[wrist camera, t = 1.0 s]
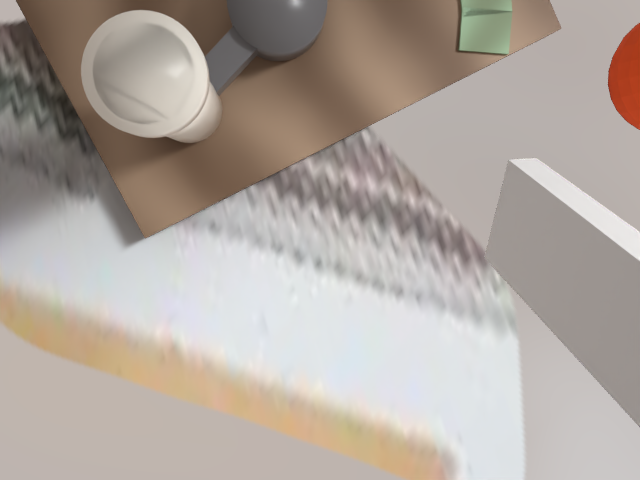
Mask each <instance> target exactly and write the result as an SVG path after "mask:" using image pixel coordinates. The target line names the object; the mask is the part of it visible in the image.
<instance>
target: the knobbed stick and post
mask: <svg viewBox="0 0 640 480" xmlns="http://www.w3.org/2000/svg"><path fill="white" fill-rule="evenodd" d="M227 8H228V12H229V16H230V20H231V23H232V28H231V29H230V30H229V31H228V32H227V33H226V34H225V36H224V37H223V38H222V39H221V40H220V41H219V42H218V43H217V44H216V45H215V46H214V47H213V49H212V50H211V51H210V52H209V53H208V54H207V55H206V56H204V54H203V52H202V50H201V49H200V47H199V45H198V43H197V42H196V40H195V39H194V37H193V36H192V35H191V33H190V32H189V31H188V30H187V29H186V28H185V27H184V26H183V25H181V24H180V23H179V22H177V21H176V20H174V19H173V18H171V17H169V16H167V15H164V14H161V13H158V12H154V11H149V10H134V11H128V12H124V13H121V14H118V15H116V16H114V17H112V18H110V19H108V20H107V21H106V22H104V23H103V24H102V25H101V26H100V27H99V28H98V29H97V30H96V31H95V32H94V33H93V35H92V36H91V38H90V39H89V41H88V43H87V45H86V47H85V50H84V53H83V57H82V63H81V77H82V84H83V88H84V91H85V94H86V96H87V98H88V100H89V102H90V104H91V105H92V107H93V108H94V110H95V111H96V112H97V113H98V114H99V115H100V116H101V117H102V118H103V119H104V120H105V121H106V122H108V123H109V124H110V125H112V126H114V127H115V128H117V129H119V130H122V131H124V132H127V133H130V134H133V135H136V136H140V137H146V138H158V137H165V136H166V137H169V138H171V139H174V140H176V141H179V142H184V143H195V142H199V141H202V140H204V139H206V138H208V137H209V136H210V135H211V134H213V133H214V131H215V130H216V129H217V127H218V125H219V123H220V121H221V117H222V103H221V99H220V97H219V96H220V95H221V93H222V92H223V91H224V90H225V89H226V88H227V87H228V86H229V85H230V84H231V83H232V82H233V81H234V79H235V78H236V77H237V76H238V75H239V74H240V73H241V72H242V71H243V70H244V69H245V68H246V67H247V66H248V64H249V63H250V62H251V61H252V60H253V59H254V58H255V57H256V56H258V57H260V58H263V59H266V60H270V61H286V60H291V59H294V58H296V57H298V56H300V55H302V54H303V53H305V52H306V51H307V50H309V49H310V48H311V47H312V45H313V44H314V43H315V42H316V40H317V38H318V37H319V34H320V32H321V29H322V26H323V22H324V19H325V16H326V11H327V0H227Z"/></svg>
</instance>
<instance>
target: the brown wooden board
mask: <svg viewBox="0 0 640 480" xmlns="http://www.w3.org/2000/svg"><path fill="white" fill-rule="evenodd" d="M16 2H17V3H18V5H19V7H20V9H21V11H22V12H23V14H24V16H25V18H26V20H27V22H28V24H29V25H30V27H31V29H32V31H33V33H34V35H35V37H36V38H37V40H38V42H39V44H40V46H41V48H42V49H43V51H44V53H45V55H46V57H47V59H48V60H49V62H50V64H51V66H52V68H53V70H54V72H55V73H56V75H57V77H58V79H59V81H60V83H61V84H62V86H63V88H64V90H65V92H66V94H67V95H68V97H69V99H70V101H71V103H72V105H73V107H74V108H75V110H76V112H77V114H78V116H79V118H80V119H81V121H82V123H83V125H84V127H85V129H86V130H87V132H88V134H89V136H90V138H91V140H92V142H93V143H94V145H95V147H96V149H97V151H98V153H99V154H100V156H101V158H102V160H103V162H104V164H105V165H106V167H107V169H108V171H109V173H110V175H111V177H112V178H113V180H114V182H115V184H116V186H117V188H118V189H119V191H120V193H121V195H122V197H123V199H124V200H125V202H126V204H127V206H128V208H129V210H130V212H131V213H132V215H133V217H134V219H135V221H136V223H137V224H138V226H139V228H140V230H141V232H142V234H143V236H144V237H145V238H147V237H149V236H151V235H153V234H155V233H157V232H159V231H161V230H163V229H165V228H167V227H169V226H171V225H173V224H175V223H177V222H179V221H181V220H183V219H185V218H187V217H189V216H191V215H193V214H195V213H197V212H199V211H201V210H203V209H205V208H207V207H209V206H211V205H213V204H215V203H217V202H219V201H221V200H223V199H225V198H227V197H229V196H231V195H233V194H235V193H237V192H239V191H241V190H243V189H245V188H247V187H249V186H251V185H253V184H255V183H257V182H259V181H261V180H263V179H265V178H267V177H268V176H270V175H272V174H274V173H276V172H278V171H280V170H282V169H284V168H286V167H288V166H290V165H292V164H294V163H296V162H298V161H300V160H302V159H304V158H306V157H308V156H310V155H312V154H314V153H316V152H318V151H320V150H322V149H324V148H326V147H328V146H330V145H332V144H334V143H336V142H338V141H340V140H342V139H344V138H346V137H348V136H350V135H352V134H354V133H356V132H358V131H360V130H362V129H364V128H366V127H368V126H370V125H372V124H374V123H376V122H378V121H380V120H382V119H384V118H386V117H388V116H389V115H392V114H394V113H395V112H397V111H399V110H401V109H403V108H405V107H407V106H409V105H411V104H413V103H415V102H417V101H419V100H421V99H423V98H425V97H427V96H429V95H431V94H433V93H435V92H437V91H439V90H441V89H443V88H445V87H447V86H449V85H451V84H453V83H455V82H457V81H459V80H461V79H463V78H465V77H467V76H468V75H471V74H473V73H475V72H477V71H479V70H481V69H483V68H485V67H487V66H489V65H491V64H493V63H494V62H497V61H499V60H501V59H502V58H505V57H507V56H509V55H510V54H513V53H515V52H517V51H518V50H520V49H523V48H524V47H526V46H528V45H530V44H532V43H534V42H536V41H538V40H540V39H542V38H544V37H546V36H548V35H550V34H552V33H554V32H556V31H558V30H559V29H561V26H560V24H559V21H558V19H557V17H556V15H555V12H554V10H553V8H552V5H551V3H550V0H327V11H326V16H325V19H324V22H323V26H322V29H321V32H320V34H319V37H318V38H317V40H316V42H315V43H314V44H313V45H312V47H311V48H310V49H309V50H307V51H306V52H305V53H303V54H302V55H300V56H298V57H296V58H294V59H291V60H286V61H270V60H266V59H263V58H260V57H258V56H256V57H255V58H254V59H253V60H252V61H251V62H250V63H249V64H248V66H247V67H246V68H245V69H244V70H243V71H242V72H241V73H240V74H239V75H238V76H237V77H236V78H235V79H234V81H233V82H232V83H231V84H230V85H229V86H228V87H227V88H226V89H225V90H224V91H223V92H222V93H221V95H220V96H219V97H220V99H221V103H222V117H221V121H220V123H219V125H218V127H217V129H216V130H215V131H214V133H213V134H211V135H210V136H209V137H208V138H206V139H204V140H202V141H199V142H195V143H184V142H179V141H176V140H174V139H171V138H169V137H166V136H165V137H158V138H146V137H140V136H136V135H133V134H130V133H127V132H124V131H122V130H119V129H117V128H115V127H114V126H112V125H110V124H109V123H108V122H106V121H105V120H104V119H103V118H102V117H101V116H100V115H99V114H98V113H97V112H96V111H95V110H94V108H93V107H92V105H91V104H90V102H89V100H88V98H87V96H86V94H85V91H84V88H83V84H82V77H81V63H82V57H83V53H84V50H85V47H86V45H87V43H88V41H89V39H90V38H91V36H92V35H93V33H94V32H95V31H96V30H97V29H98V28H99V27H100V26H101V25H102V24H103V23H104V22H106V21H107V20H108V19H110V18H112V17H114V16H116V15H118V14H121V13H124V12H128V11H134V10H149V11H154V12H158V13H161V14H164V15H167V16H169V17H171V18H173V19H174V20H176V21H177V22H179V23H180V24H181V25H183V26H184V27H185V28H186V29H187V30H188V31H189V32H190V33H191V35H192V36H193V37H194V39H195V40H196V42H197V43H198V45H199V47H200V49H201V50H202V52H203V54H204V56H206V55H207V54H208V53H209V52H210V51H211V50H212V49H213V47H214V46H215V45H216V44H217V43H218V42H219V41H220V40H221V39H222V38H223V37H224V36H225V34H226V33H227V32H228V31H229V30H230V29H231V28H232V23H231V20H230V16H229V12H228V8H227V0H16Z"/></svg>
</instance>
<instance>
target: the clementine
mask: <svg viewBox="0 0 640 480" xmlns="http://www.w3.org/2000/svg"><path fill="white" fill-rule="evenodd" d="M608 87H609V92H610V97H611V100H612V102H613V104H614V106H615V108H616V110H617V111H618V112H619V114H620V115H621V116H622V117H623V118H624V119H625V120H626V121H627V122H628V123H630V124H631V125H633V126H634V127H636V128H637V129H639V130H640V23H639V24H637V25H636V26H635V27H634V28H633V29H632V30H631V31H630V32H629V33H628V34H627V35H626V36H625V37H624V38H623V40H622V42H621V43H620V45H619V47H618V48H617V50H616V52H615V54H614V56H613V58H612V61H611V65H610V68H609V76H608Z"/></svg>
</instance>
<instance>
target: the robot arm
mask: <svg viewBox="0 0 640 480" xmlns="http://www.w3.org/2000/svg"><path fill="white" fill-rule="evenodd" d="M484 258H485V259H486V260H487V261H488V262H489V263H490V264H491V266H492V267H493V268H494V269H495V270H496V271H497V272H498V273H499V274H500V275H501V276H502V278H503V279H504V280H505V281H506V282H507V283H508V284H509V285H510V286H511V287H512V288H513V290H514V291H515V292H516V293H517V294H518V295H519V296H520V297H521V298H522V299H523V300H524V302H525V303H526V304H527V305H528V306H529V307H530V308H531V309H532V310H533V311H534V312H535V314H536V315H537V316H538V317H539V318H540V319H541V320H542V321H543V322H544V323H545V324H546V325H547V327H548V328H549V329H550V330H551V331H552V332H553V333H554V334H555V335H556V336H557V337H558V339H559V340H560V341H561V342H562V343H563V344H564V345H565V346H566V347H567V348H568V350H569V351H570V352H571V353H572V354H573V355H574V356H575V357H576V358H577V359H578V360H579V362H580V363H581V364H582V365H583V366H584V367H585V368H586V369H587V370H588V371H589V372H590V373H591V375H592V376H593V377H594V378H595V379H596V380H597V381H598V382H599V383H600V384H601V385H602V387H603V388H604V389H605V390H606V391H607V392H608V393H609V394H610V395H611V396H612V398H613V399H614V400H615V401H616V402H617V403H618V404H619V405H620V406H621V407H622V408H623V410H625V412H626V413H627V414H628V415H629V416H630V417H631V418H632V419H633V420H634V421H635V423H636V424H637V425H638V426H639V427H640V232H639V231H638V230H636V229H635V228H633V227H632V226H631V225H629V224H628V223H626V222H625V221H624V220H622V219H620V218H619V217H618V216H617V215H615V214H614V213H612V212H611V211H610V210H608V209H607V208H605V207H604V206H603V205H601V204H600V203H598V202H597V201H596V200H594V199H593V198H592V197H590V196H589V195H587V194H586V193H585V192H583V191H582V190H580V189H579V188H578V187H576V186H575V185H573V184H572V183H570V182H569V181H568V180H566V179H565V178H564V177H562V176H561V175H559V174H558V173H557V172H555V171H554V170H552V169H551V168H550V167H548V166H547V165H546V164H544V163H543V162H541V161H540V160H538V159H537V158H530V159H512V160H508V164H507V168H506V172H505V176H504V180H503V184H502V188H501V192H500V196H499V200H498V204H497V208H496V212H495V217H494V220H493V225H492V228H491V232H490V237H489V241H488V245H487V249H486V253H485V257H484Z"/></svg>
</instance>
